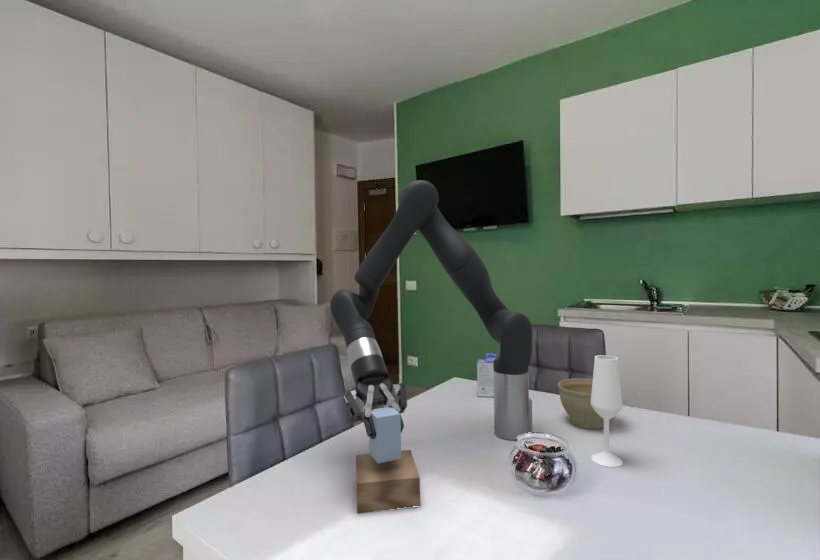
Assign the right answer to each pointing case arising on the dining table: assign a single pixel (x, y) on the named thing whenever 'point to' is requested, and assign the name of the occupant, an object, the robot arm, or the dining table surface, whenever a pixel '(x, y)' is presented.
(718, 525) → the dining table surface
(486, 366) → the ink cartridge box
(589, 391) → the planter bowl
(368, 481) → the walnut block
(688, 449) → the dining table surface
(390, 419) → the slate blue pillar block
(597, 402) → the champagne flute
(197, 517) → the dining table surface
